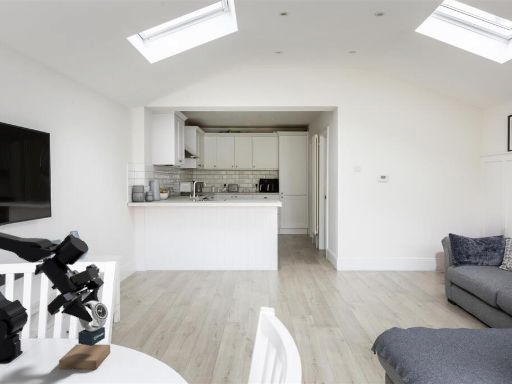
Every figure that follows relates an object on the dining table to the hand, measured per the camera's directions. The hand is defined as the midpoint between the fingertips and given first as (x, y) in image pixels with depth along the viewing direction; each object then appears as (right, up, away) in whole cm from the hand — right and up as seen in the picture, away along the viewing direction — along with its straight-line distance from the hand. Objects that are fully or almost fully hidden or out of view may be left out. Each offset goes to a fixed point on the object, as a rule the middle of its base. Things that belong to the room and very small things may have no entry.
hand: (96, 318), depth 109 cm
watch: (-1, -7, +1) cm, 7 cm away
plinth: (-4, -13, +2) cm, 13 cm away
